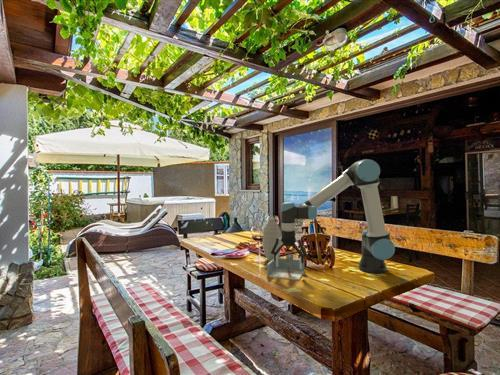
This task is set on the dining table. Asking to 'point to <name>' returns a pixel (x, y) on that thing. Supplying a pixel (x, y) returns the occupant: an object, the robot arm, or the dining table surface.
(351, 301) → the dining table surface
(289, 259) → the mechanical component
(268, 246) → the vase
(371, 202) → the robot arm
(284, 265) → the tray
